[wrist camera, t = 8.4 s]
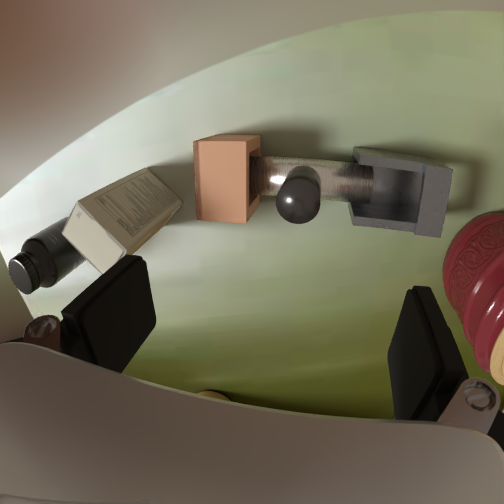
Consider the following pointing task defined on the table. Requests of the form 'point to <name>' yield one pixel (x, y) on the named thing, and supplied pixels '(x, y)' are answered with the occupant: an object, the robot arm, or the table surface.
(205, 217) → the socket
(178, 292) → the table surface
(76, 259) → the supplement bottle
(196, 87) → the table surface
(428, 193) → the sleeve
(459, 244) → the canister
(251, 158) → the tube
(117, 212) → the skincare box
